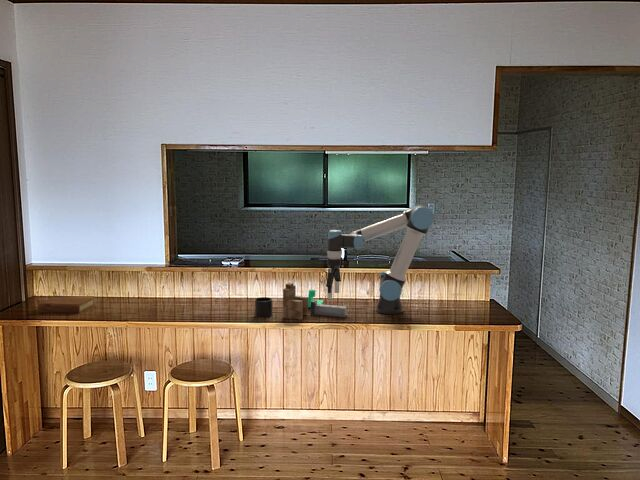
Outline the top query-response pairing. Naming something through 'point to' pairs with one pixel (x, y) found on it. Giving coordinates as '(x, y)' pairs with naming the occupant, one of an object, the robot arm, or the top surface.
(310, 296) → the camera mount
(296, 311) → the brown wooden block stack
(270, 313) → the mug
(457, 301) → the top surface
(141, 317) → the top surface
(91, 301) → the diary
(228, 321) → the top surface
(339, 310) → the rail
